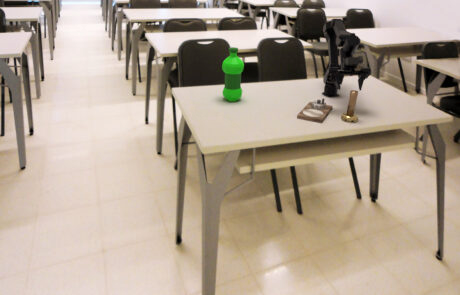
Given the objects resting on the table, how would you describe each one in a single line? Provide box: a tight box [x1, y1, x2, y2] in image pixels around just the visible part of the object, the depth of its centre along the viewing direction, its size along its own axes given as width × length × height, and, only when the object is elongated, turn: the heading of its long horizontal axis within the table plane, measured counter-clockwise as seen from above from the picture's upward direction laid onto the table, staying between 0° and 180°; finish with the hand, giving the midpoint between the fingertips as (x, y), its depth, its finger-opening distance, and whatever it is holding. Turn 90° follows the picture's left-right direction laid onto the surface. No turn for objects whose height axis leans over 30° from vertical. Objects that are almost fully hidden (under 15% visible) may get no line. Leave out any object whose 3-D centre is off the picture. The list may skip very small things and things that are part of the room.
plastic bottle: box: [221, 46, 245, 102], centre depth 178 cm, size 10×10×25 cm
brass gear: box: [340, 89, 359, 124], centre depth 161 cm, size 7×7×13 cm
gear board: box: [296, 98, 333, 124], centre depth 168 cm, size 20×11×6 cm, turn 153°
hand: (350, 90), depth 163 cm, fingers open, 9 cm apart
